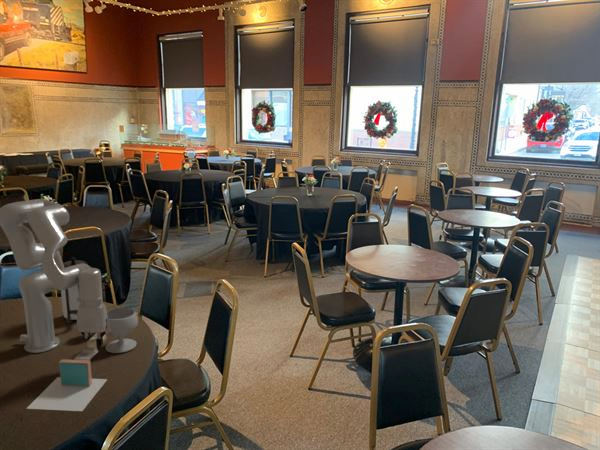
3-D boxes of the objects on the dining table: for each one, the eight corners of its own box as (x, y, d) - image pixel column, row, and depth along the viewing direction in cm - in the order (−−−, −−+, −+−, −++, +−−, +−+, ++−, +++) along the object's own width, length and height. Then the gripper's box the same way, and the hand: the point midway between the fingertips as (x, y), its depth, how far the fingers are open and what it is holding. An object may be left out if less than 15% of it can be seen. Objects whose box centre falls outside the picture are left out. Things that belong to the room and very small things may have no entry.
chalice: (135, 354, 179) (133, 319, 175) (99, 356, 177) (96, 321, 173) (141, 337, 192) (140, 305, 189) (107, 339, 190) (105, 306, 187)
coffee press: (50, 323, 202) (44, 260, 196) (75, 309, 218) (70, 251, 211) (83, 328, 199) (78, 264, 192) (106, 314, 214) (102, 254, 207)
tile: (60, 385, 154) (58, 362, 152) (64, 382, 156) (61, 359, 154) (89, 387, 154) (87, 363, 152) (92, 383, 156) (90, 360, 154)
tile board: (26, 412, 142) (26, 408, 141) (58, 380, 159) (57, 377, 159) (82, 415, 141) (82, 411, 141) (107, 383, 159) (107, 379, 159)
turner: (96, 340, 174) (96, 330, 174) (109, 340, 174) (109, 331, 174) (74, 359, 158) (73, 349, 157) (88, 360, 158) (88, 349, 157)
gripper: (64, 304, 160) (68, 351, 164) (109, 306, 160) (112, 353, 164) (75, 296, 167) (78, 341, 171) (117, 298, 167) (120, 343, 171)
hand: (95, 346), depth 168 cm, fingers closed on turner, 2 cm apart
